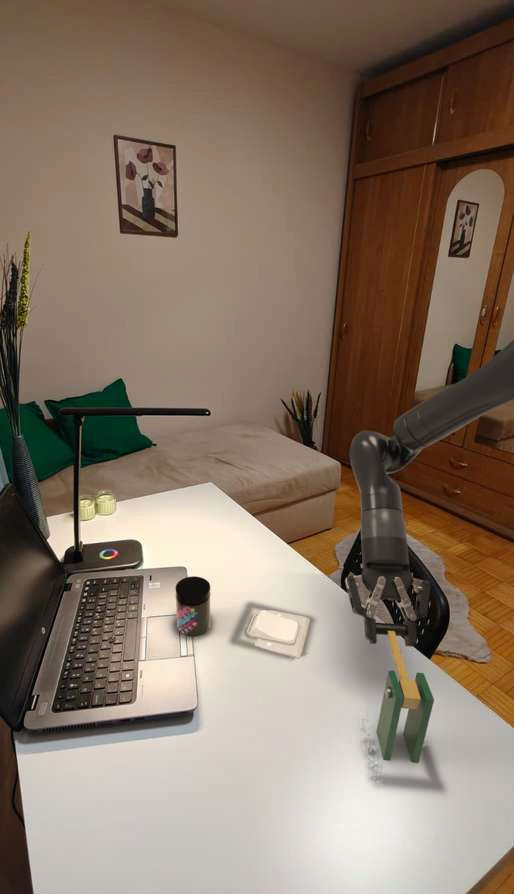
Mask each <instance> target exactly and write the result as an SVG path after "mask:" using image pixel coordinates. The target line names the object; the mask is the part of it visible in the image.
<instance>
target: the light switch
mask: <svg viewBox="0 0 514 894" xmlns="http://www.w3.org/2000/svg"><path fill="white" fill-rule="evenodd" d="M310 621H311V619H310V618H308V617H307V616H303V615H298V614H293V613H288V612H283V611H278V610H271V609H268V610H266V609H262V610H261V611H259V612H255V613H254V614H253V615H252V617H251V620H250V622H249V625H248V628H247V629H246V636H248V637H249V638H253V639H256V641H255V643H254V646H255V647H258V648H261V649H263V650H266V651H270V652H273V653H277V654H280V655H284V656H287V657H291V658H295V659H301V658H302V654H303V650H304V647H305V646H304V645H305V642H306V637H307V634H308V631H309V625H310V623H311V622H310Z"/></svg>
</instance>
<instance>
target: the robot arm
mask: <svg viewBox="0 0 514 894" xmlns="http://www.w3.org/2000/svg"><path fill="white" fill-rule="evenodd" d="M512 401H514V339H512V340H511V341H510V342H509V343H508V344H507V345H506V346H504V347H503V348H502V350H500V351H499V352H498V353H497V354H495V355H494V356H493V357H492V358H491V359H490V360H488V361H487V362H486V363H485V364H483V365H482V366H481V367H479V368H478V369H476V370H475V371H474V372H472V373H470V374H468V375H467V376H466V377H464V378H463V379H461V380H459V381H458V382H456V383H453V384H452V385H450V386H448V387H446V388H445V389H442V390H440V391H438V392H437V393H435V394H433V395H431V396H429V397H428V398H426V399H424V400H422V402H420V403H418V404H416V405H415V406H413V407H412V408H411V409H408V411H406V412H404V413H403V414H401V415H400V416H399V417H397V418H396V419H395V421H394V423H393V427H392V429H393V430H392V431H393V434H394V435H392V436H387V435H386V434H385V435H384V434H382V433H380V432H378V431H375V430H370V429H365V430H361V431H359V432H358V433H357V434H356V435H355V436H354V437H353V438H352V441H351V444H350V447H349V460H350V464H351V469H352V471H353V475H354V478H355V481H356V482H355V483H356V484H357V488H358V489H359V494H360V508H361V511H360V513H361V514H360V515H361V519H360V533H359V534H360V539H361V557H362V558H361V559H362V571H361V573H360V575H348V576H347V577H345V578H344V583H345V587H346V591H347V595H348V599H349V604H350V607H351V611H352V613H353V614H355V615H358V616H360V617H362V618H363V620H364V621H363V622H364V637H365V640H368V642H369V644H370V645H377V644H378V637H377V634H376V623H377V619H376V618H374V617H375V614H376V611H377V607H378V606H379V603H380V601H384V600H388V601H392V602H395V604H396V605H397V608H399V609H400V612H401V615H402V617H403V619H404V621H403V622H402V624H405V625H406V627H407V636H403V638H404V645H405V647H411V648H412V647H414V646H415V644H416V643H417V640H418V636H417V623H416V622H417V620H420V619H423V618H426V617H427V616H428V613H429V612H428V611H429V602H430V595H431V587H432V586H431V585H432V584H431V581H430V580H428V579H424V580H422V579H419V578H415V577H414V575H412V573H411V571H410V560H409V549H408V540H407V539H408V538H407V527H406V523H405V518H404V513H403V512H404V511H403V499H402V492H401V487H400V485H399V484H398V483H397V482H396V481H394V480H393V479H392V478H391V477H390V476H389V474H394V473H396V472H399V471H401V470H402V469H404V468H405V467H406V466H408V465H409V464H410V463H411V462H412V461H413V460H414V459H415V458H416V457H417V456H418V455H419V454H420V453H421V452H422V451H423V450H424V449H425V448H428V447H429V446H431V445H432V446H433V444H435V443H437V442H439V441H440V440H443V439H444V438H446V437H448V436H450V435H451V434H453V433H455V432H457V431H459V430H460V429H462V428H463V427H465V426H466V425H469V424H470V423H471V422H473V421H475V420H477V419H479V418H480V417H482V416H484V415H485V414H487V413H489V412H491V411H493V410H495V409H497V408H499V407H502V406H505V404H508V403H511V402H512ZM361 582H362V584H363V585H364V586H365V588H366V589H367V591H368V592H369V593H368V595H367V600H366V603H365V607H363V605H362V601H361V597H360V593H359V590H358V589H360V588H361ZM412 586H413V590H414V592H415V593H416V600H415V607H414V608H413V605H412V602H411V599H410V597H409V595H408V593H407V592H408V591H409V589H410V588H411V587H412Z"/></svg>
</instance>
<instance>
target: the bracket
mask: <svg viewBox="0 0 514 894" xmlns="http://www.w3.org/2000/svg"><path fill="white" fill-rule="evenodd" d="M396 673H397V672H396V671H395V670H387V674H386V679H385V683H384V684H385V685H384V690H383V695H382V700H381V706H380V712H379V717H378V722H377V727H376V735H377V740H378V743H379V748H380V752H381V756H382V760H383V761H389V762H390V761H391V758H392V754H393V749H394V743H395V741H396V740H395V739H396V735H397V732H398V731H397V730H398V726H399V720H400V716H401V712H402V708H401V707H402V702H403V698H404V697H403V694H402V691H401V688H400V685H399V678H398V675H397V674H396ZM414 680H415V681H416V685H417V688H418V691H419V694H420V698H421V700H420V703H419V706H418V709H408V710H407V714H406V719H405V724H404V727H403V732H402V735H403V738H404V742H405V745H406V748H407V751H408V754H409V758H410V762H411V763H413V764H414V763H415V764H419V762H420V759H421V755H422V751H423V747H424V742H425V739H426V734H427V731H428V726H429V722H430V718H431V716H432V715H431V714H432V710H433V707H434V703H435V698H434V696H433V693H432V690H431V688H430V685H429V683H428V681H427V679H426V676H425V673H424V672H416V673H415V678H414Z"/></svg>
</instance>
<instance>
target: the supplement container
mask: <svg viewBox="0 0 514 894" xmlns="http://www.w3.org/2000/svg"><path fill="white" fill-rule="evenodd" d="M175 605H176V606H175V607H176V629H177V630H178V632H179V633H180V634H181V635H183V636H185V637H189V638H196V637H200V636H202V635H204V634H207V632H208V631H209V630H210V628H211V584H210V582H209V581H208V580H207V579H206V578H204V577H201V576H196V575H195V576H192V575H191V576H187V577H183V578H182V579H180V580H179V581H178V582H177V583H176V585H175Z"/></svg>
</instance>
